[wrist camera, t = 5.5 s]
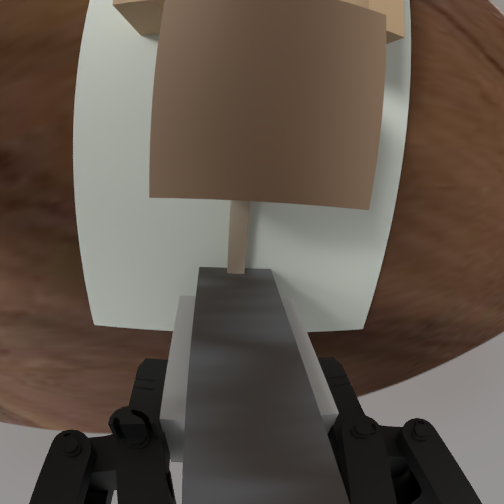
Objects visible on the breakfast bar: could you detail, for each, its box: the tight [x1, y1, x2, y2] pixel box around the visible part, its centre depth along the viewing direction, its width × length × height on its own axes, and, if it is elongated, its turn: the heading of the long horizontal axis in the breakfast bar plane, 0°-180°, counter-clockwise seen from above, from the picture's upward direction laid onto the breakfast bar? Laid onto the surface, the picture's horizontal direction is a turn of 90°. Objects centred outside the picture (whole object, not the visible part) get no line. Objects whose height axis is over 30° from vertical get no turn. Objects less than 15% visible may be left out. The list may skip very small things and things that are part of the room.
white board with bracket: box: [73, 0, 411, 332], centre depth 11 cm, size 16×22×5 cm
